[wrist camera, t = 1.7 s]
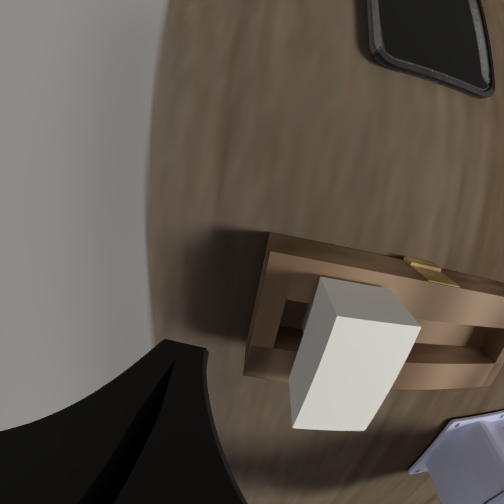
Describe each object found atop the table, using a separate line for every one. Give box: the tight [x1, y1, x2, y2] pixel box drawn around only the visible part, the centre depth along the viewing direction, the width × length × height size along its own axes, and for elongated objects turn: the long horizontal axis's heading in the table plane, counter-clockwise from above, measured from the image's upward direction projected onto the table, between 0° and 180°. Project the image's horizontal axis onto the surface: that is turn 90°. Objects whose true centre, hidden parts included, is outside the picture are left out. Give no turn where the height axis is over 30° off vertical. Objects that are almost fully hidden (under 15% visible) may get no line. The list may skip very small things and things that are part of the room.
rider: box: [289, 276, 421, 431], centre depth 11 cm, size 3×5×5 cm, turn 170°
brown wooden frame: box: [243, 232, 504, 390], centre depth 14 cm, size 16×6×3 cm, turn 80°
